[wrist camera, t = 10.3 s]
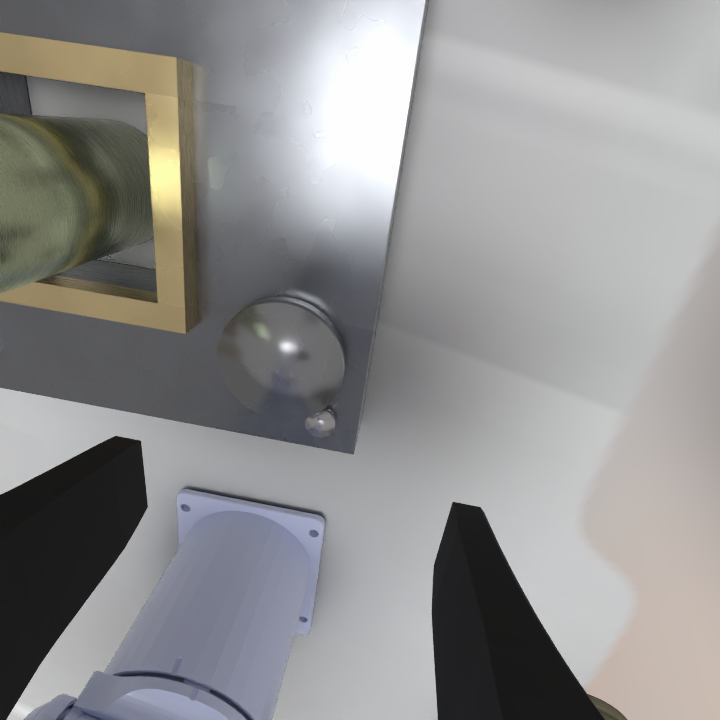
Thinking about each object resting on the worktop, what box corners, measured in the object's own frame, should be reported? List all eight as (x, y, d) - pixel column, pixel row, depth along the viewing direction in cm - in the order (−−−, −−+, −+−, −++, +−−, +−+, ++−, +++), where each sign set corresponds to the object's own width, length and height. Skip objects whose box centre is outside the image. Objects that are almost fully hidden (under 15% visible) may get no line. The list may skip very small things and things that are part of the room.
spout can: (174, 253, 20) (-50, 355, 10) (69, 230, 20) (-244, 310, 10) (175, 129, 17) (-105, 119, 8) (58, 105, 18) (-346, 67, 8)
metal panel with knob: (360, 421, 22) (350, 469, 19) (-1, 355, 23) (-68, 389, 20) (441, -79, 14) (445, -141, 11) (-117, -147, 15) (-261, -223, 12)
